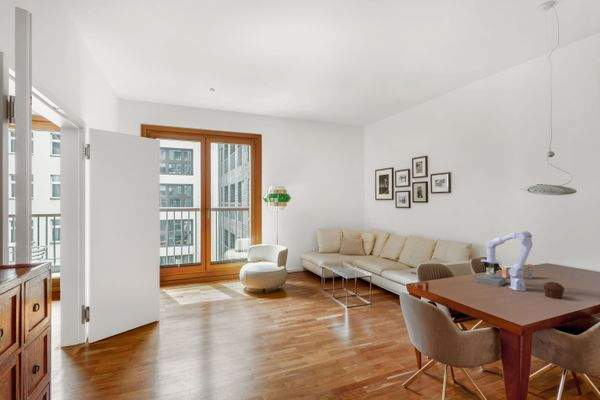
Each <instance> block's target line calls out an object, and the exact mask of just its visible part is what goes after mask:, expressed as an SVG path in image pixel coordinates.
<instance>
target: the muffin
mask: <svg viewBox="0 0 600 400" xmlns="http://www.w3.org/2000/svg"><path fill="white" fill-rule="evenodd" d="M543 291H544V295H545V297H547V298H549V299H550V298H551V299H554V300H562V299H563V296H564V291H565V287H563V285H562V284H561V283H558V282H555V281H548V282H546V283H545V284H543Z"/></svg>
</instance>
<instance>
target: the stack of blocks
mask: <svg viewBox="0 0 600 400" xmlns="http://www.w3.org/2000/svg"><path fill="white" fill-rule="evenodd" d="M514 264H515V262H512V266H513V265H514ZM512 266H511V265H501V277H504V278H507V279H511V276H510V274H509V270H510V269H511V268H512ZM524 268H525V269H524V274H523V275H522V279H527V278H531V279H533V264H531V263H529V262H525V264H524Z"/></svg>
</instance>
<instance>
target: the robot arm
mask: <svg viewBox="0 0 600 400" xmlns="http://www.w3.org/2000/svg"><path fill="white" fill-rule="evenodd" d="M532 238H533V235H532V234H531V232H530V231H528V230H523V231H516V232H515V231H514V232H512V233H510V234H507V235H505V236H503V237H502V236H496V237H495V238H492V239H491V240H486V241H485V243H484V244H485V247H486V259H483V258H482V259H480V262H481V263H482V264H483V266H484V268H485V269H486V268H488V267H489V264H492V265H493V268H494V273H497V270H498V268H499V266H500V265H501V266H503V265H502V263H503V262H502V261H498V260H496V247H498V246H501V245H504V244H505V242H506V241H510V240H513V239H517V241H519V242H520V243H521V245H522V246H521V248H520V251H519V253H518V256H517V258H516V260H515V262H514V263H515V264H514V265H513V264H512V268H511V269H510V270H509V274H510V276H511V278H510V286H509V285H508V286H507V287H508V288H509V289H511V290H513V291H520V292H521V291H524V292H525V291H527V289H526V282H525V280H524V278H522V275H523V274H524V269H525V268H524V264H525V263H527V259H528V256H529V254H530V252H531V250H532V247H533V241H532V240H533V239H532Z"/></svg>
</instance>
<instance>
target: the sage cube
mask: <svg viewBox="0 0 600 400" xmlns="http://www.w3.org/2000/svg"><path fill="white" fill-rule="evenodd" d="M485 270H486V274H487V275H493V276H496V273H497V272H496V273H494V267H491V266H488V268H485Z"/></svg>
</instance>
